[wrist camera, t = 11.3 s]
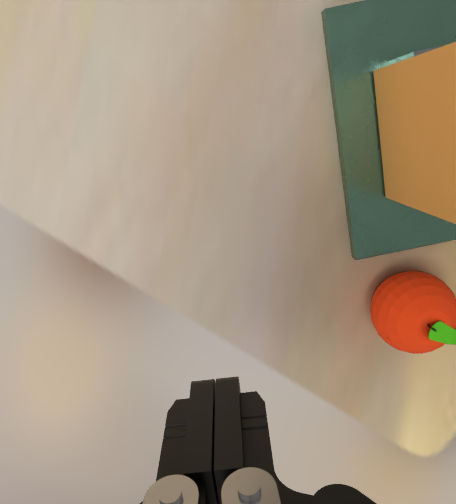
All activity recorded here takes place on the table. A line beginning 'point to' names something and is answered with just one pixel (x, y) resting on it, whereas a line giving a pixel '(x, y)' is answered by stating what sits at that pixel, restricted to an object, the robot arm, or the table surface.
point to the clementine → (414, 312)
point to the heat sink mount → (366, 118)
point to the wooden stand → (419, 131)
